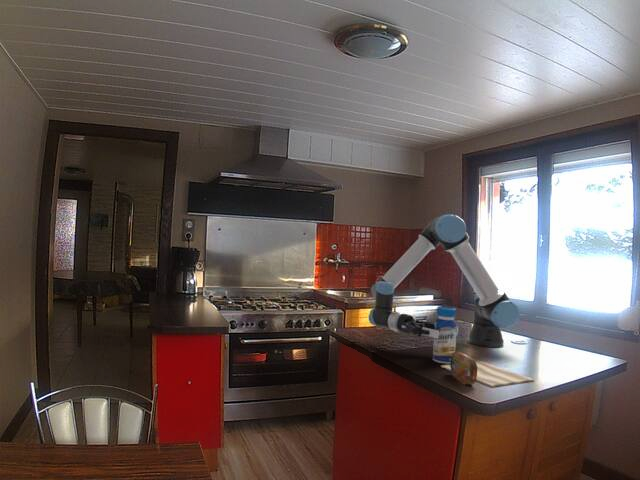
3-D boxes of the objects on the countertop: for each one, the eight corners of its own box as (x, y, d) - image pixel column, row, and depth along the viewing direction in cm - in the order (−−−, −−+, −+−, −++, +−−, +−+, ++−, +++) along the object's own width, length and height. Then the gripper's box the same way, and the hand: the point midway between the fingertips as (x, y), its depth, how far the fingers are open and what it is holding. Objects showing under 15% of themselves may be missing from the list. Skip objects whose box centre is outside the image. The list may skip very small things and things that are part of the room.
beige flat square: (480, 362, 160) (481, 361, 160) (534, 381, 140) (534, 379, 140) (441, 367, 150) (441, 365, 150) (492, 387, 131) (492, 385, 131)
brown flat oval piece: (448, 373, 143) (450, 348, 144) (457, 373, 144) (459, 348, 144) (468, 388, 128) (469, 360, 129) (478, 389, 129) (479, 361, 129)
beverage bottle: (458, 361, 160) (460, 308, 160) (451, 365, 153) (454, 310, 153) (435, 356, 165) (438, 305, 165) (428, 361, 158) (432, 307, 158)
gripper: (418, 329, 182) (464, 339, 166) (381, 334, 165) (428, 346, 150) (419, 311, 182) (465, 320, 166) (382, 315, 165) (429, 325, 150)
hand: (448, 332), depth 158 cm, fingers open, 13 cm apart
